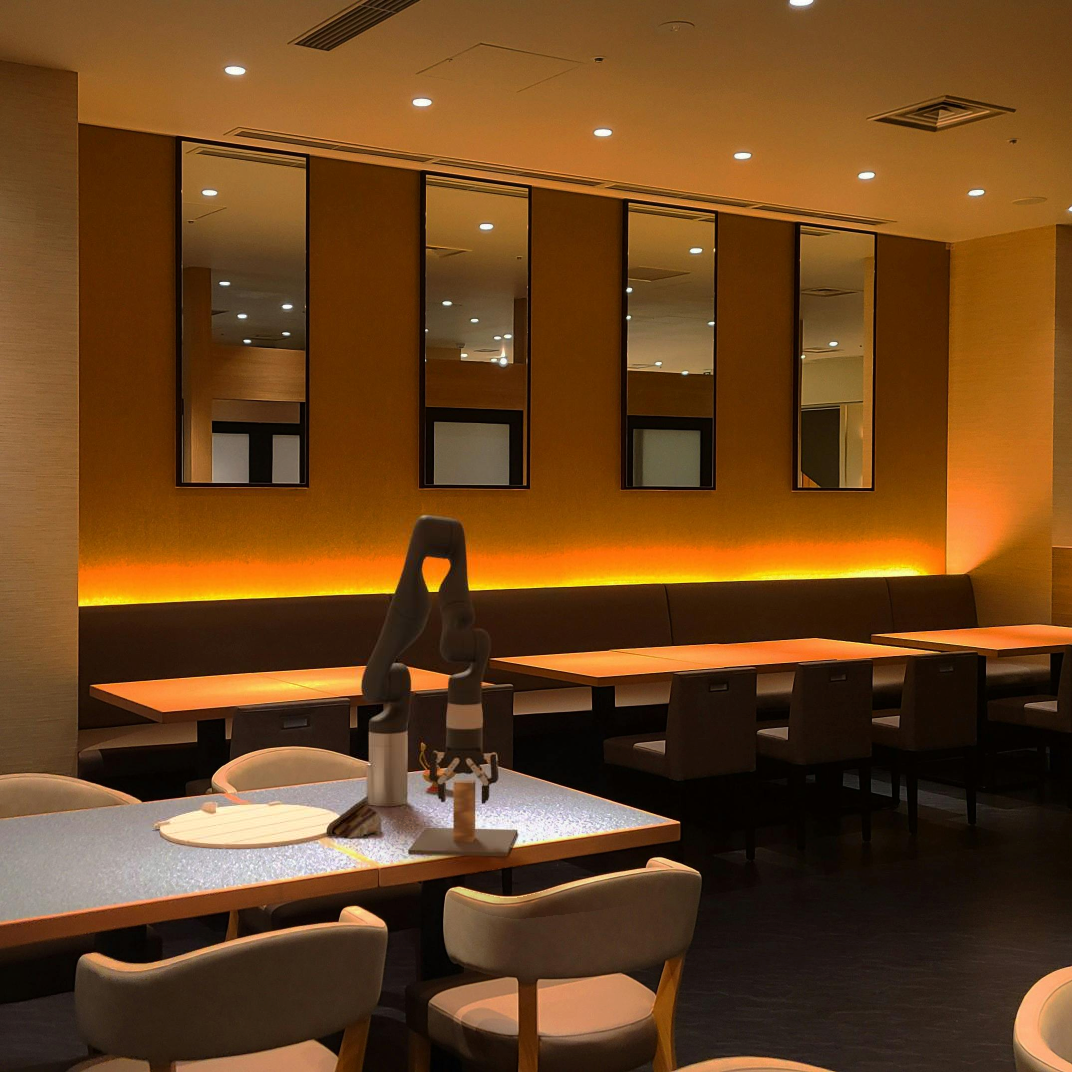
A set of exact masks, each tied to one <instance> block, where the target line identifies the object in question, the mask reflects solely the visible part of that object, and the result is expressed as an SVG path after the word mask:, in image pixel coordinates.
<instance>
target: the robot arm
mask: <svg viewBox="0 0 1072 1072" xmlns="http://www.w3.org/2000/svg"><path fill="white" fill-rule="evenodd" d="M409 540H410V541H409V544H408V547H407V548H408V549H407V553H406V555H405V560H404V564H403V567H402V571H401V574H400V578H399V581H398V583H397V586H396V588H395V591H394V594H393V597H392V599H391V602H390V603H389V607H388V610H387V612H386V613H387V614H386V617H385V621H384V623H383V626H382V629H381V632H380V634H379V637H378V640H377V643H376V645H375V647H374V649H373V651H372V654H371V656H370V658H369V660H368V661H367V664H366V667H365V668H364V672H363V675H362V679H361V683H360V685H361V686H360V688H361V694H362V697H363V698H364V701H366V702H368V703H371V704H387V705H386V707H385V708H384V709H383V711H381V712H380V713H379V714H377V715H374V716H372V717H371V718H370V719H369V722H368V763H367V764H366V797H367V796H368V803H369V806H371V805H372V806H376V807H398V806H402V805H406V804H407V803H408V763H409V762H408V756H409V755H408V748H409V747H408V732H409V731H408V729H409V728H408V727H409V726H408V725H409V721H410V715H411V698H412V696H411V695H412V677H411V672H410V670H409V668H408V667H407V665H405V664H404V663H399V662H396V663H395V661H396V660H397V659H398V657H399V656H400V655H401V654H403V652H404V651H405V650H407V648H409V647H410V646H411V645H412V644H413V643H414V642H415V641H416V640H417V639H418V638H419V636H420V635H421V634H422V633H423V631H424V629H425V627H426V625H427V622H428V620H429V617H430V614H431V611H432V599H431V594H430V592H429V589H428V585H427V584H426V581H425V578H424V575H423V567H424V566H423V565H424V562H425V559H426V558H427V557H428V558H433V559H443V560H448V562H449V564H450V565H449V566H450V567H449V569H448V572H446V574H445V577H444V578H443V580H442V582H441V584H440V586H439V589H438V593H437V600H438V601H437V602H438V607H439V611H440V615H441V623H442V625H441V627H442V630H441V637H440V643H439V653H440V655H441V657H442V659H444V660H445V662H447V663H451V664H461V663H463V664H464V663H467V664H468V663H470V665H469V668H468V669H466V670H465V671H463V672H459V673H455V674H453V675H451V676H449V678H448V682H447V709H446V718H445V719H446V721H445V722H446V725H445V726H446V732H445V733H446V735H445V736H446V737H445V739H446V741H445V752H443V751H442V752H441V751H440V752H439V751H438V750H433V751H432V752H431V754H430V760H429V761H430V762H429V766H430V767H429V770H430V773H429V779H430V781H434V782H436V783H437V784H438V792H437V797H438V800H440V802H441V803H445V802H446V800H447V799H446V798H447V790H446V789H447V782H445V780H446V779H447V777H448V776H449V775H450V774H451V772H452V771H453V772H455V773H456V775H457V774H459V775H460V774H466V775H471V774H474V775H475V776H476V778H478V779H479V781H480V782H481V784H482V785H481V804H486V803H487V801H489V798H490V785H491V784H495V783H497V782H498V780H499V763H498V762H499V759H498V753H497V752H494V751H493V752H491V753H484V750H483V724H484V718H483V708H482V699H483V698H482V696H483V695H482V694H483V693H482V689H483V688H482V687H483V686H482V685H483V680H484V673H485V670H486V665H487V663H488V659H489V656H490V652H491V647H492V643H491V641H492V640H491V638H490V635H489V633H488V632H487V631H486V630H484V629H483V628H470V627H472V626H473V624H474V623H475V620H476V614H475V608H474V605H473V600H472V597H471V592H470V588H469V579H468V560H467V559H468V556H467V544H466V542H467V541H466V535H465V530H464V526H463V525H462V522H460V521H459V520H457V519H455V518H449V517H443V516H436V515H435V516H433V515H427V514H425V515H421V516H419V518H418V519H417V520H416V522H415V524H414V526H413V530H412V532H411V536H410V539H409ZM442 759H444V761H445V762H446V764H447V765H448V766H447V768H446V769H445V772H444V773H443V774H442V776H439V775H437V766H439V765H438V764H439V763H440V762H441V761H442ZM484 760H485V761H486V762H487V764H488V765H490V776H488V775H487V774H486V772H485V770H484V767H482V766H481V764H482V762H483V761H484Z"/></svg>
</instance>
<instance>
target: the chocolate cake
mask: <svg viewBox="0 0 1072 1072" xmlns="http://www.w3.org/2000/svg"><path fill="white" fill-rule="evenodd" d="M339 816H340V817H338V818H337V819H336V820H334V821H333V822H331V823H330V824H329V825H328V827H327V831H326V832H327V834H328V836H335V835H339V836H340V837H343V838H344V839H351V838H356V837H361V838H367V837H368V835H370V834H376V835H377V834H380V833H381V832H382V830H383V827H382V821H383V820H382V815H381V813H380V812H378V811H376V810H375V809H373V808H372V807H370V805H369V803H368V796H367V795H366V797H365V796H364V797H363V798H362V799H361V800H360V801H358V802H357V803H355V804H354V805H352V807H350V808H349V809H348V810H346V811H345V812H344V813H342V814H340V815H339Z"/></svg>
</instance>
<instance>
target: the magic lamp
mask: <svg viewBox="0 0 1072 1072" xmlns="http://www.w3.org/2000/svg"><path fill="white" fill-rule="evenodd" d="M426 747H427V746H426V744H425V743H423V742H421V744H420V750H421V753H420V755H419V763H420V764H421V765H422V767H423V768H424V770H425V771H423V773H422V778H423V779H424V780H425V781H426V782H428V783H430V784H431V785H430V786H429V787H428V788H426V791H428V792H432V793H434V792H435V793H436V792H437V793H438V784H437V783H436V782H434V781H430V779H429V773H430V769H428V768H430V764H428V762H427V760H426V757H425V753H424V752H425V750H426ZM422 756H423V760H424V763H425V765H426V766H427V767H428V768H427V767H426V766H425V765H424V763H423V761H422ZM445 770H446V769H445ZM445 770H444V769H442V768H441V767H440V766H439V765H438V766H437V775H439V776H442V774H443V773H444V772H445ZM456 775H457V774H456V773H455V772H453V771H452V772H451V774H450V775H449V776H448V777H447V779H446V780H445V783H447V782H448V781H450V780H451V779H453V778H454V777H455V776H456ZM446 791H447V788H446Z"/></svg>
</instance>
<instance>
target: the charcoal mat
mask: <svg viewBox="0 0 1072 1072" xmlns="http://www.w3.org/2000/svg"><path fill="white" fill-rule="evenodd" d="M517 836H518V829H505V828H504V829H503V828H502V829H500V828H498V829H497V828H475V839H474V840H473V842H453V827H452V828H451V827H425V828H424V829H423V830H422V831H421V833H419V836H418V837H417V838H416V839H415V841H414V842H413V843H412V844H411V846H410V847H409V848H408V850H407V852H408V853H407V854H408V855H434V856H439V855H440V856H468V857H469V856H470V857H471V856H473V857H474V856H475V857H508V855H509V852H510V850H511V849H512V847H511V846H513V844H514V843H515V842H514V841H515V840H516V837H517Z"/></svg>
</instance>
